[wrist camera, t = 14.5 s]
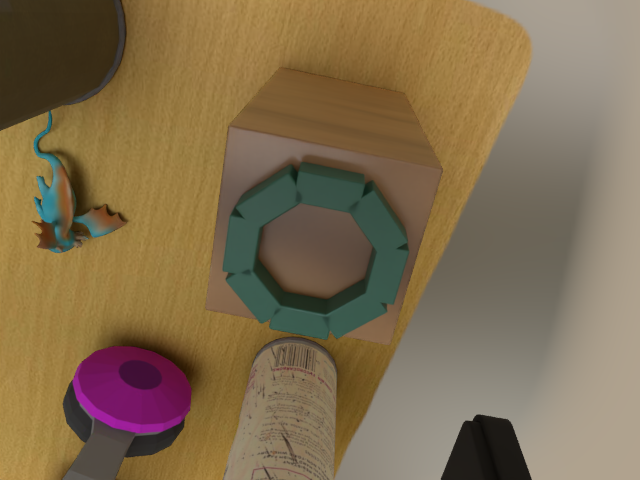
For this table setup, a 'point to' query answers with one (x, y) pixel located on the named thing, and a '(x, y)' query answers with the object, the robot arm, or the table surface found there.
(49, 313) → the table surface
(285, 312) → the hoop
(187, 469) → the table surface
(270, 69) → the table surface
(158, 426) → the headphones
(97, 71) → the canister
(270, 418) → the aerosol can
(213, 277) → the plinth
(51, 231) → the dragon figurine
